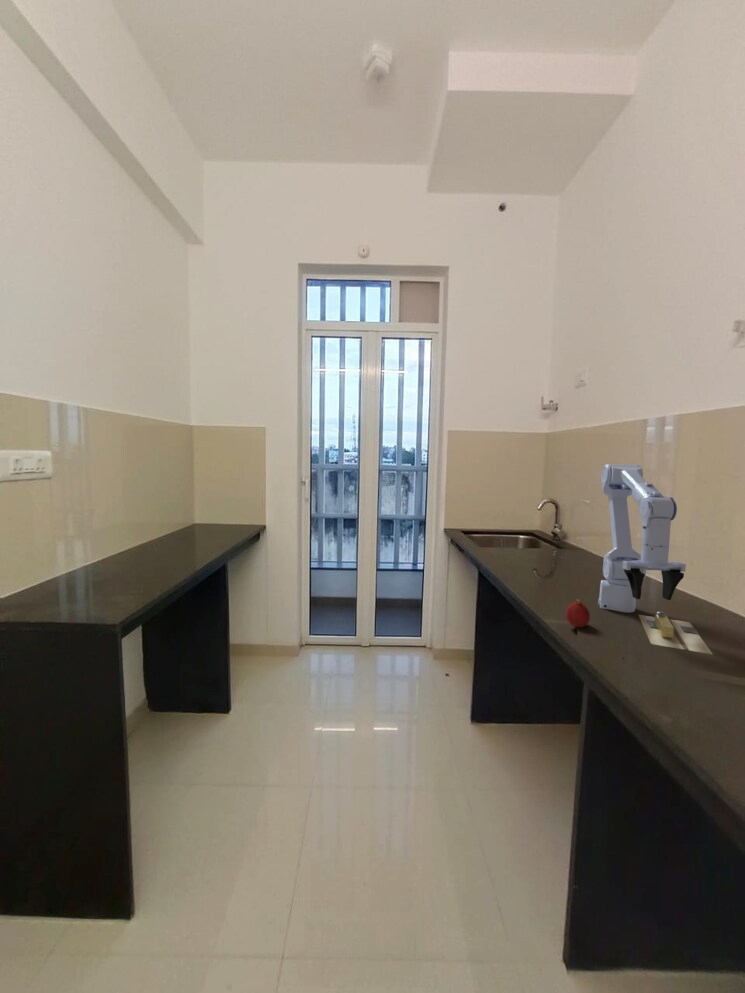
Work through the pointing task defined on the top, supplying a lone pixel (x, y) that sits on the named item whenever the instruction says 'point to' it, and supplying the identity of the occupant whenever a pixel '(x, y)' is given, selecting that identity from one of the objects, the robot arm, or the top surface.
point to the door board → (675, 635)
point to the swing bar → (663, 624)
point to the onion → (577, 614)
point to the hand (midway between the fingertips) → (651, 598)
